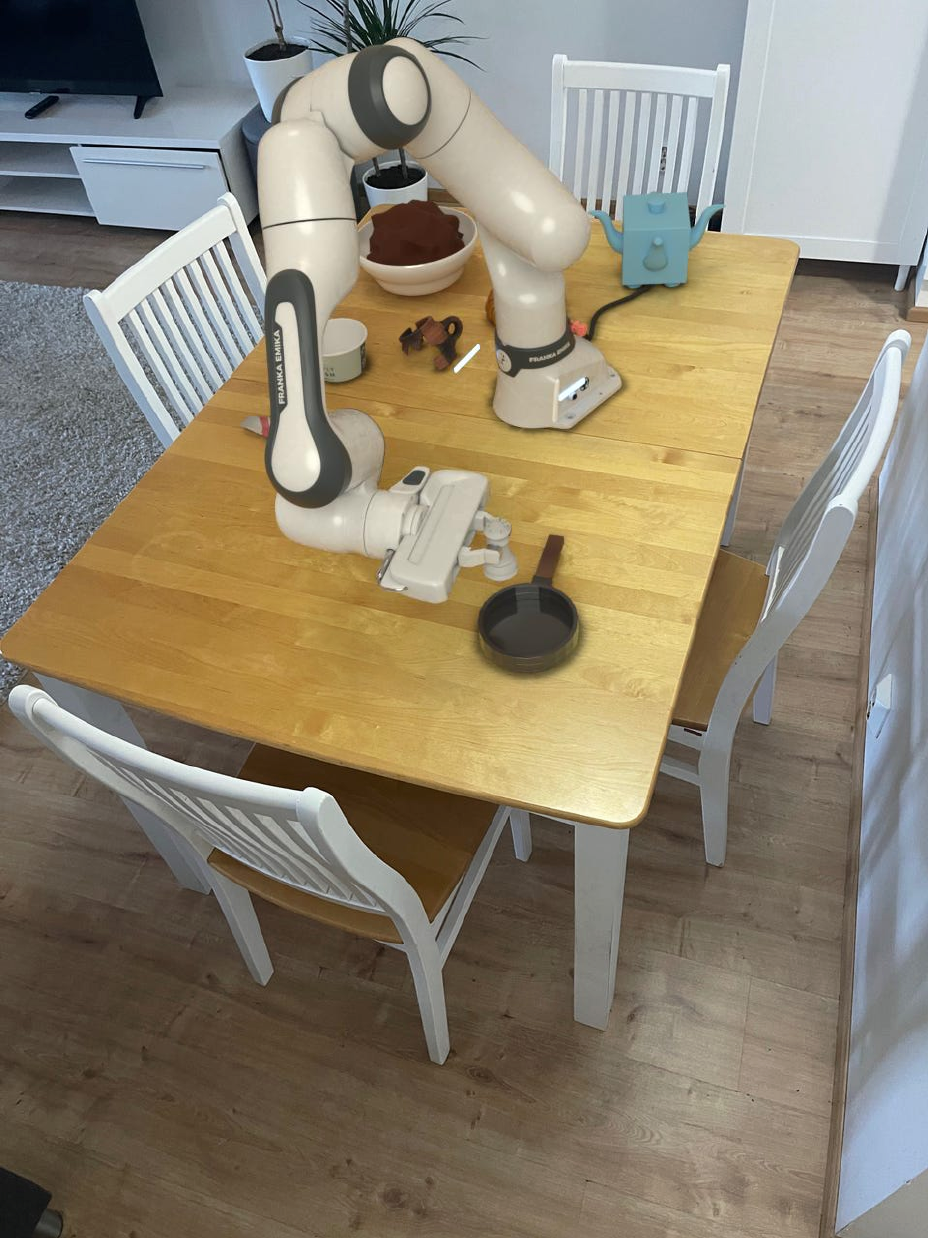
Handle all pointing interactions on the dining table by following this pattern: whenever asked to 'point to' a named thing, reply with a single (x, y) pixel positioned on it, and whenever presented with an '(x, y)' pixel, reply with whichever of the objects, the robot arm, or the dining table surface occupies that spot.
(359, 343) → the food container
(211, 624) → the dining table surface
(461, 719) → the dining table surface
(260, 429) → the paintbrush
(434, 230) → the white bowl
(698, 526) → the dining table surface
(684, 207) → the teakettle
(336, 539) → the robot arm
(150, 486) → the dining table surface
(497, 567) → the rook chess piece
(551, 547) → the pan handle
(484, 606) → the pan
